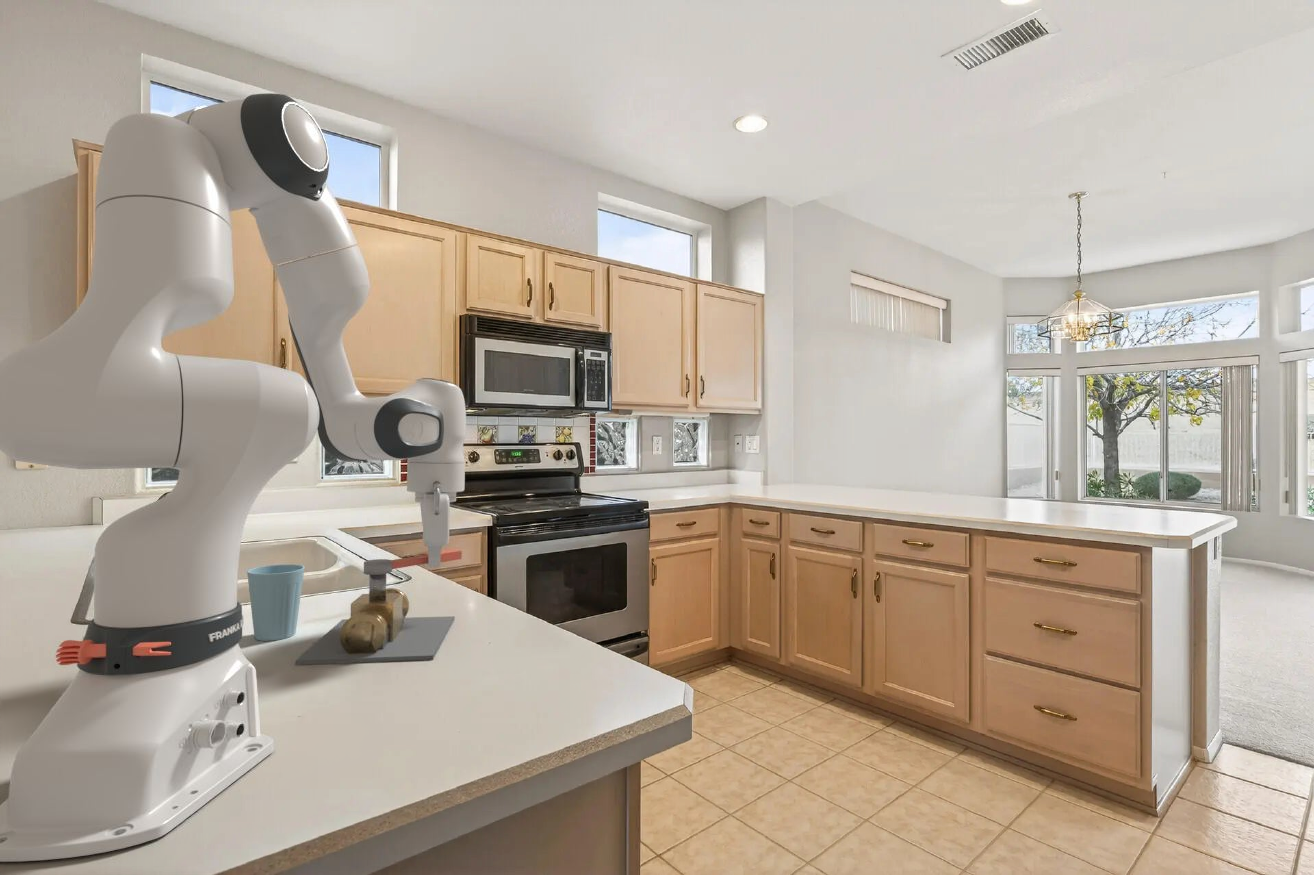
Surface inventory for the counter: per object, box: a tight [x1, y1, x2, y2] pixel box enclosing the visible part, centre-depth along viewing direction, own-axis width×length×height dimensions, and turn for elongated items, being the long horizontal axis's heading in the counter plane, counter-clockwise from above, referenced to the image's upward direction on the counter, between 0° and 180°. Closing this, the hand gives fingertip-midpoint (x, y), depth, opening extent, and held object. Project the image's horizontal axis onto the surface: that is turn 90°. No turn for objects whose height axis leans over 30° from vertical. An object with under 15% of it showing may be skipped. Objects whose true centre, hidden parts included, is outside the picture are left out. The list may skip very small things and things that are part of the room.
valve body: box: [340, 574, 410, 654], centre depth 100 cm, size 16×6×10 cm, turn 9°
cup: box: [246, 563, 305, 642], centre depth 101 cm, size 8×8×10 cm
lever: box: [363, 548, 463, 576], centre depth 105 cm, size 16×4×2 cm, turn 144°
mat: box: [294, 616, 455, 666], centre depth 100 cm, size 20×18×1 cm
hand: (434, 566), depth 105 cm, fingers closed
